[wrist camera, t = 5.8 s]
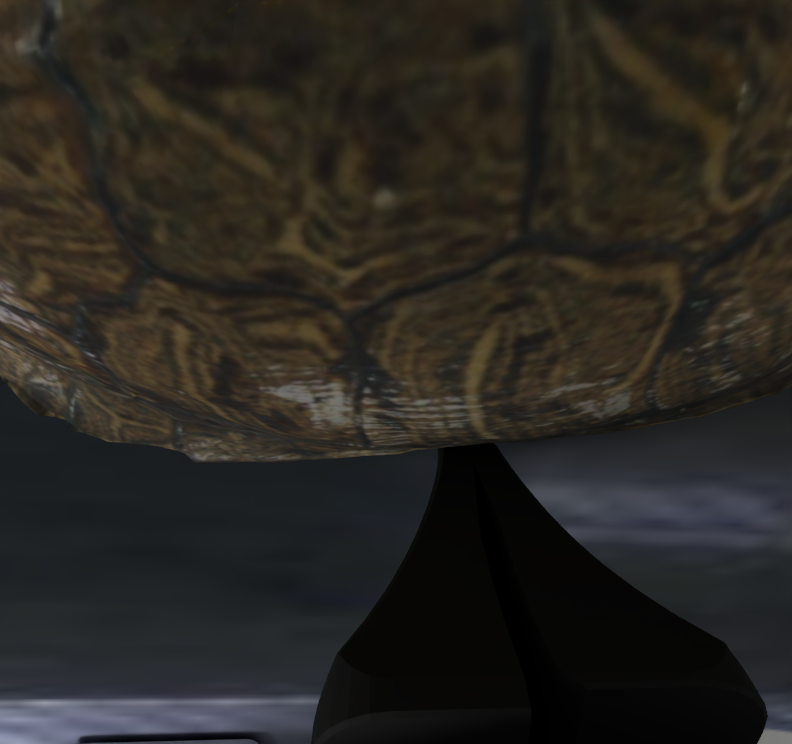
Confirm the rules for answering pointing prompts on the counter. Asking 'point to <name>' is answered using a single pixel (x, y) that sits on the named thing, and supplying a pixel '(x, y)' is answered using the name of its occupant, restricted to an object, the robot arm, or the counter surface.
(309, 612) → the counter surface
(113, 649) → the counter surface
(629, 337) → the turtle shell
